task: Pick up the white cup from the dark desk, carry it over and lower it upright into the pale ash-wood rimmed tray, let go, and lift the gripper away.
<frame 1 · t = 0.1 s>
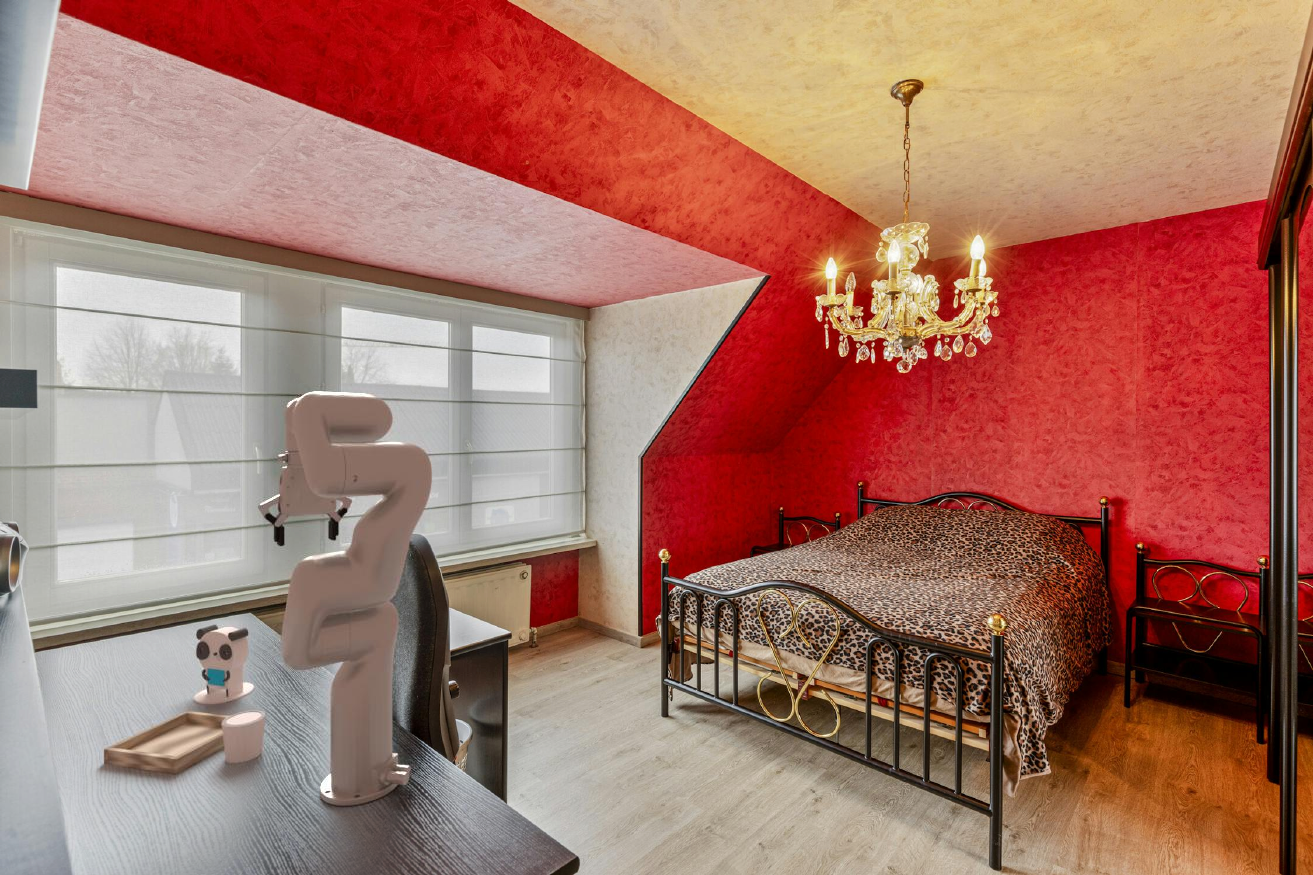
hand: (307, 542, 130), 37 cm above the table, tool pointing down, fingers open, 9 cm apart
panda figurine: (223, 694, 144), on the table
white cup: (243, 756, 116), on the table
tray: (182, 746, 119), on the table
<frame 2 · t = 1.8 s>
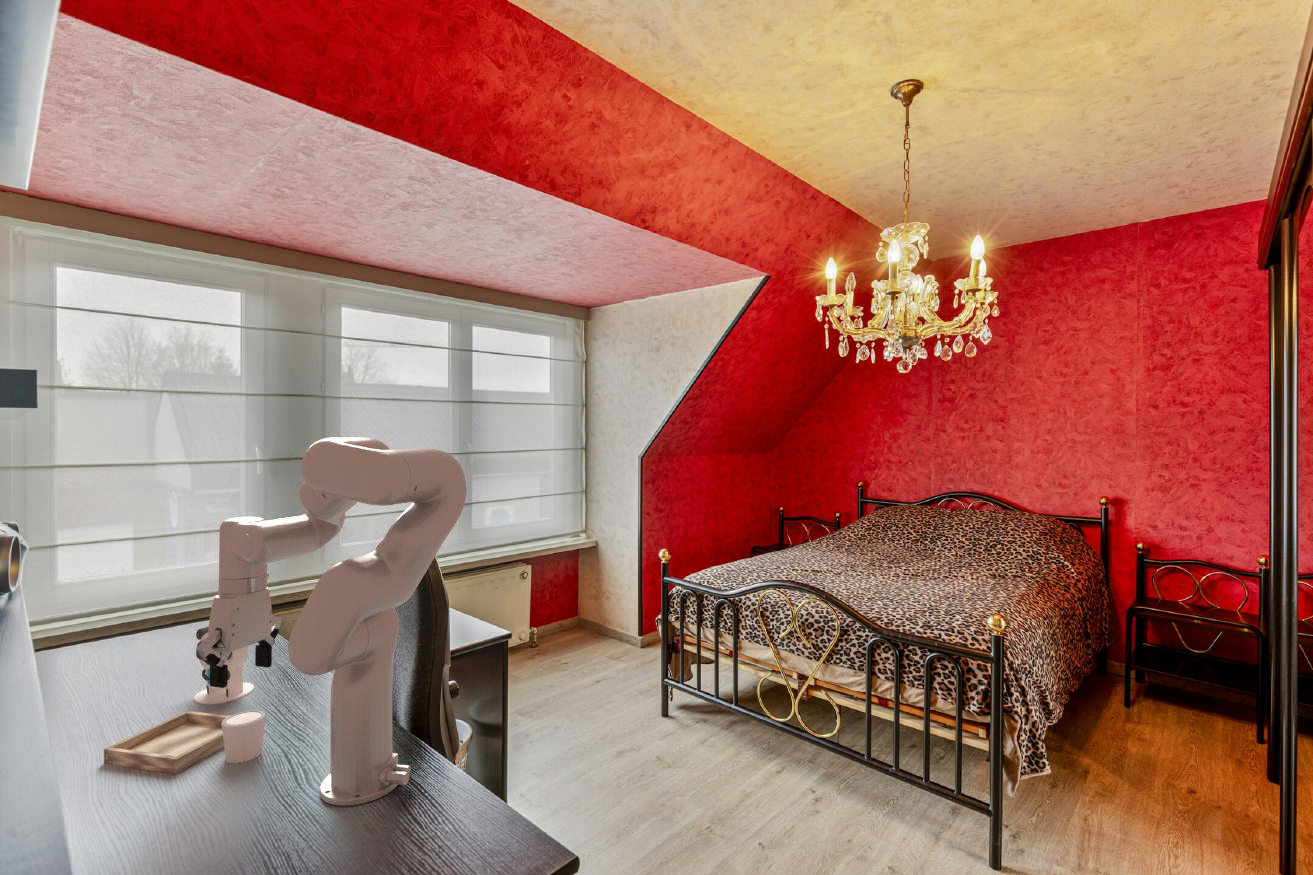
hand: (241, 675, 116), 15 cm above the table, tool pointing down, fingers open, 9 cm apart
nothing on the table moved.
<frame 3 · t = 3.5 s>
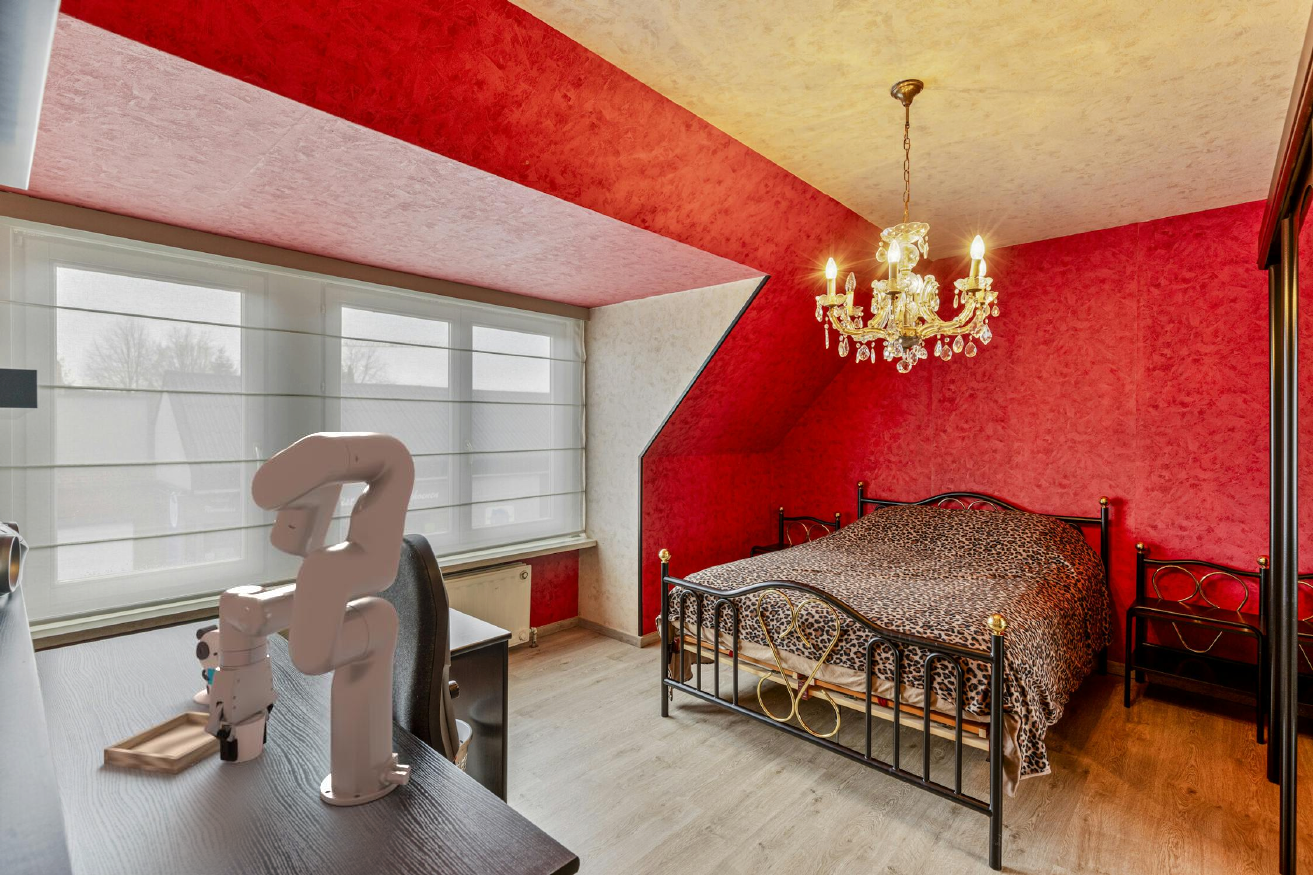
hand: (243, 750, 116), 1 cm above the table, tool pointing down, fingers closed on white cup, 5 cm apart
white cup: (243, 755, 116), on the table, touching gripper
everything else where it was.
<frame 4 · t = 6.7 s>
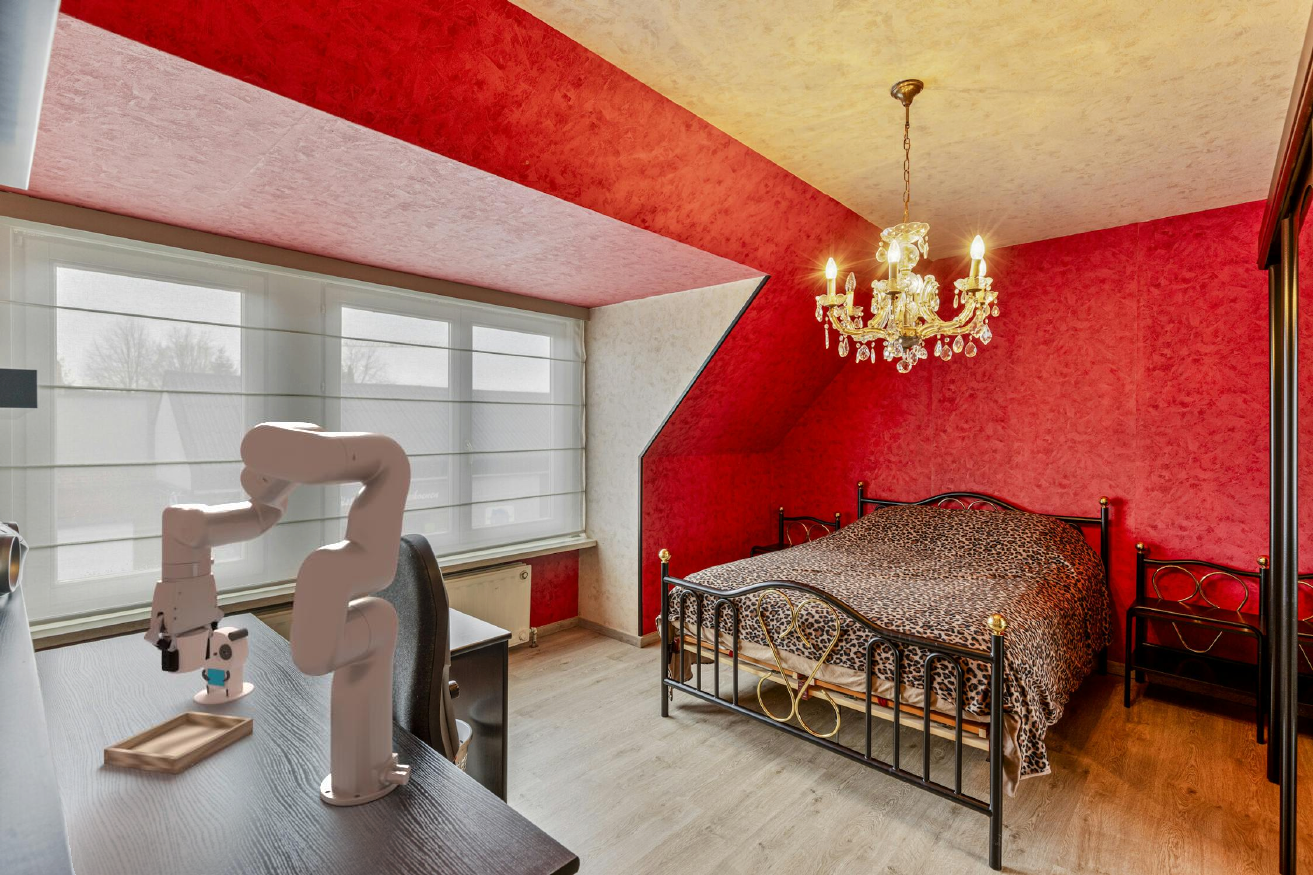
hand: (186, 663, 119), 16 cm above the table, tool pointing down, fingers closed on white cup, 5 cm apart
white cup: (186, 668, 119), point 15 cm above the table, touching gripper
everything else where it was.
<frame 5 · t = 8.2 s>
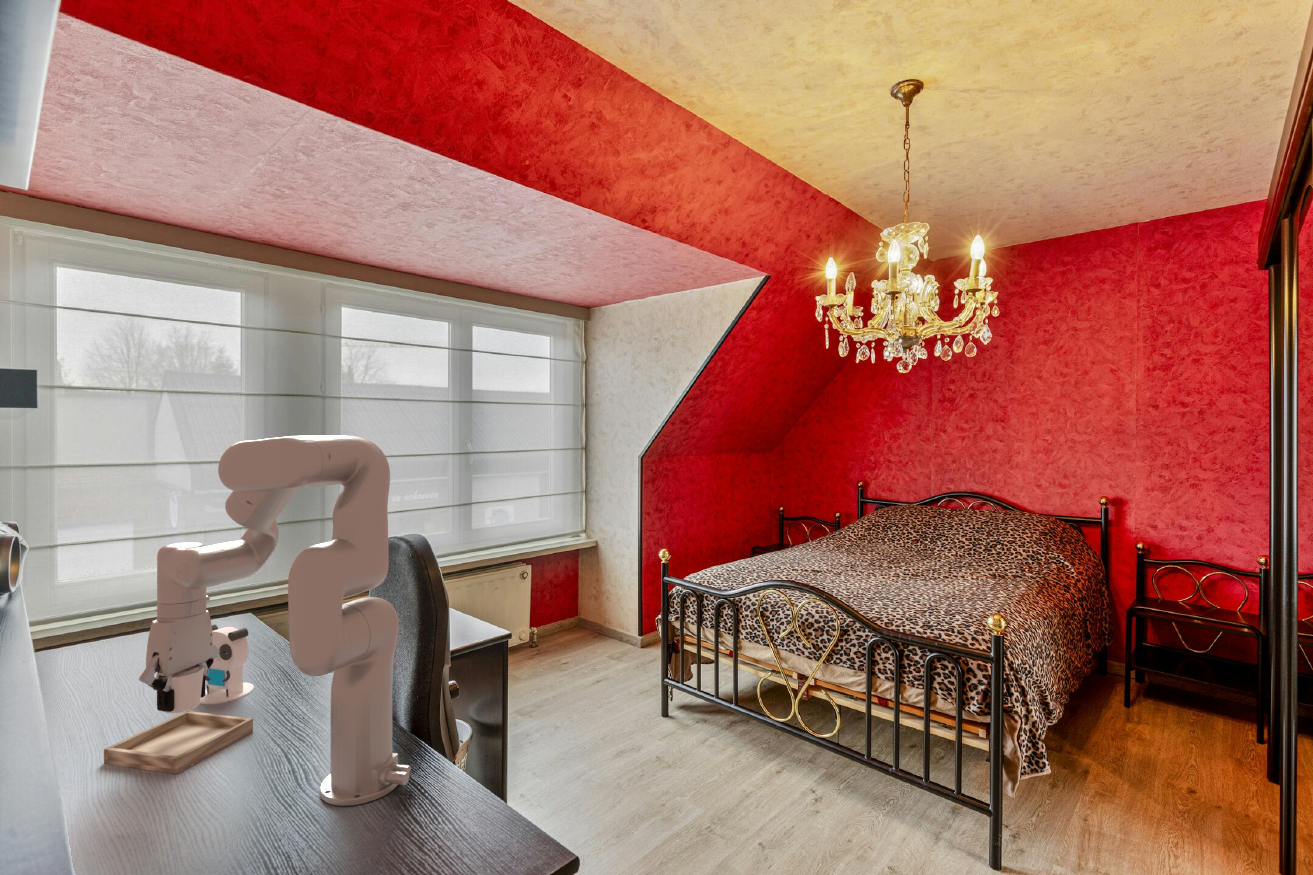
hand: (181, 702, 119), 8 cm above the table, tool pointing down, fingers closed on white cup, 5 cm apart
white cup: (181, 707, 119), point 7 cm above the table, touching gripper
everything else where it was.
when the fingers open (3 cm above the table, at t = 9.8 s): white cup stays where it is, resting on tray.
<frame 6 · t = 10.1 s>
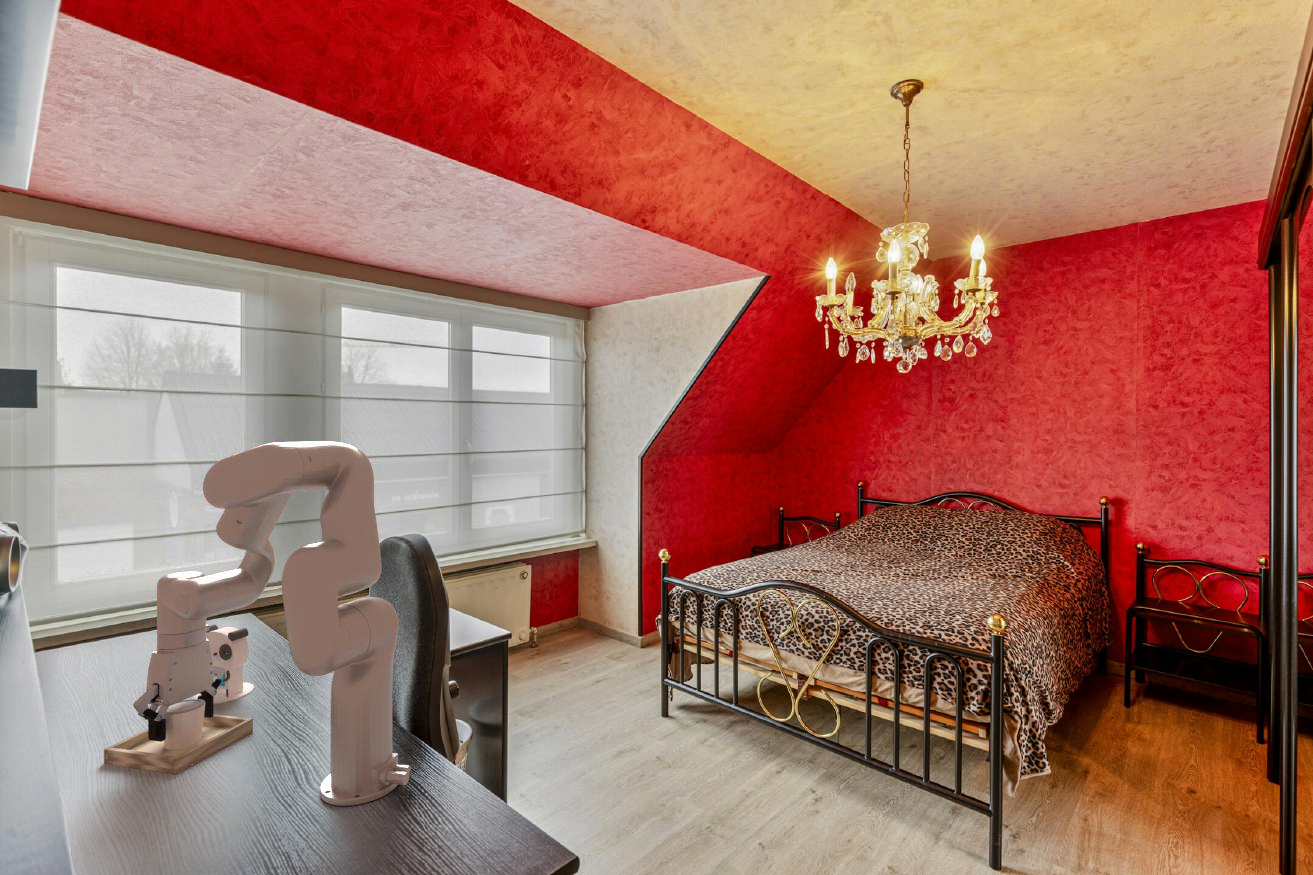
hand: (182, 727, 119), 4 cm above the table, tool pointing down, fingers open, 9 cm apart
white cup: (183, 743, 119), point 1 cm above the table, touching tray
everything else where it was.
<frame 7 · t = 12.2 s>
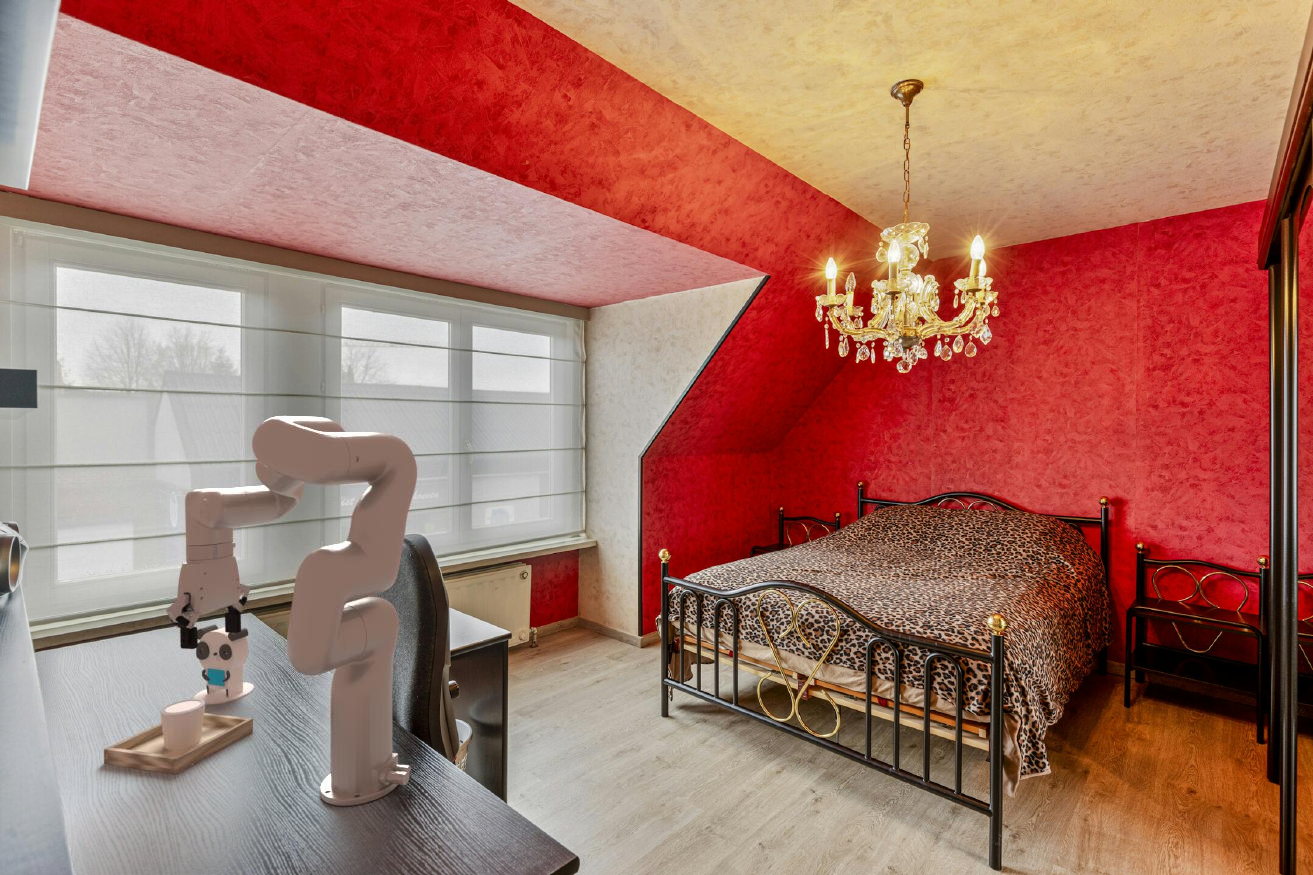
hand: (212, 639, 122), 19 cm above the table, tool pointing down, fingers open, 9 cm apart
nothing on the table moved.
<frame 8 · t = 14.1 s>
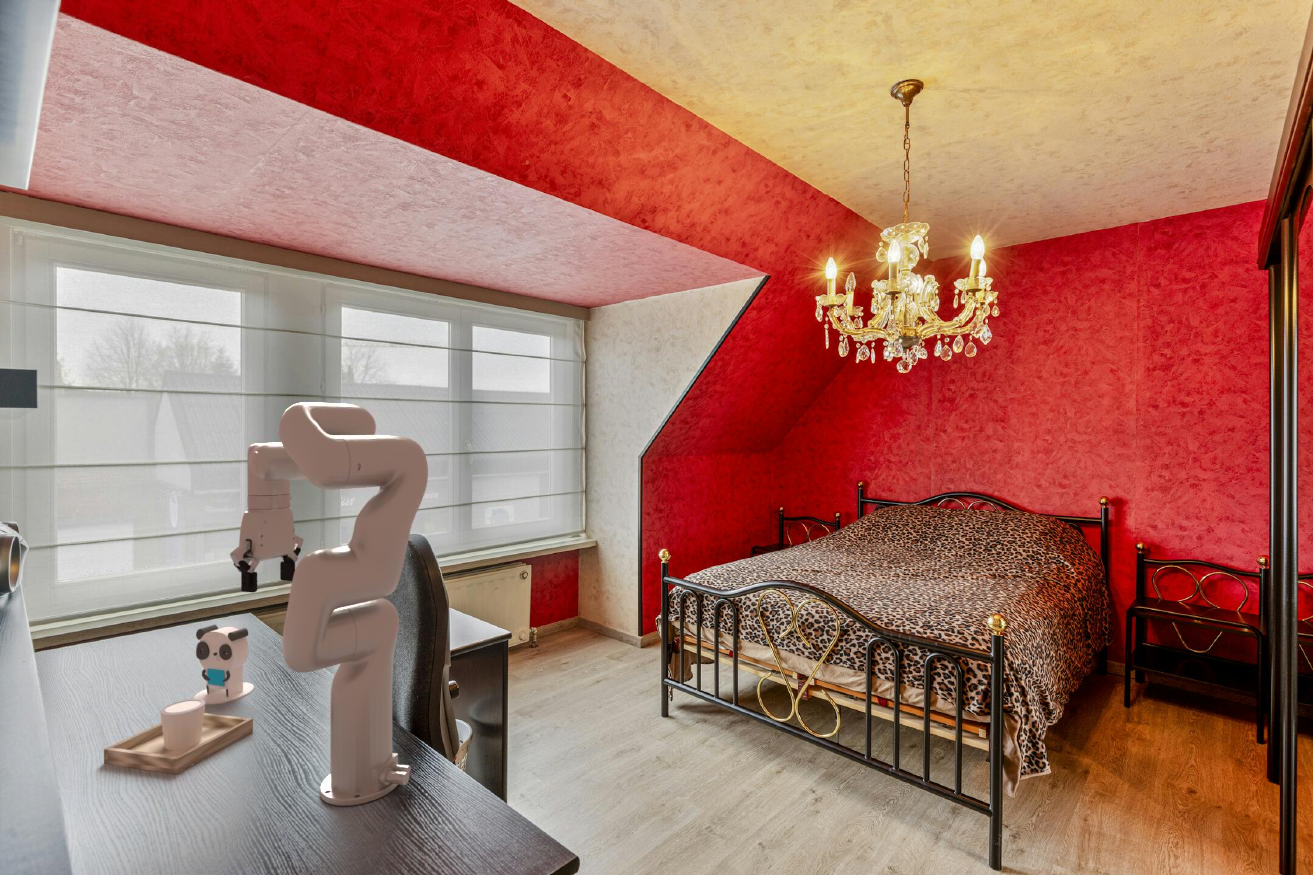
hand: (269, 585, 129), 28 cm above the table, tool pointing down, fingers open, 9 cm apart
nothing on the table moved.
at the end: white cup 0.2 cm off-centre on the tray, point 0.6 cm above the tray's base; white cup tilted 0°; the gripper is holding nothing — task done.
